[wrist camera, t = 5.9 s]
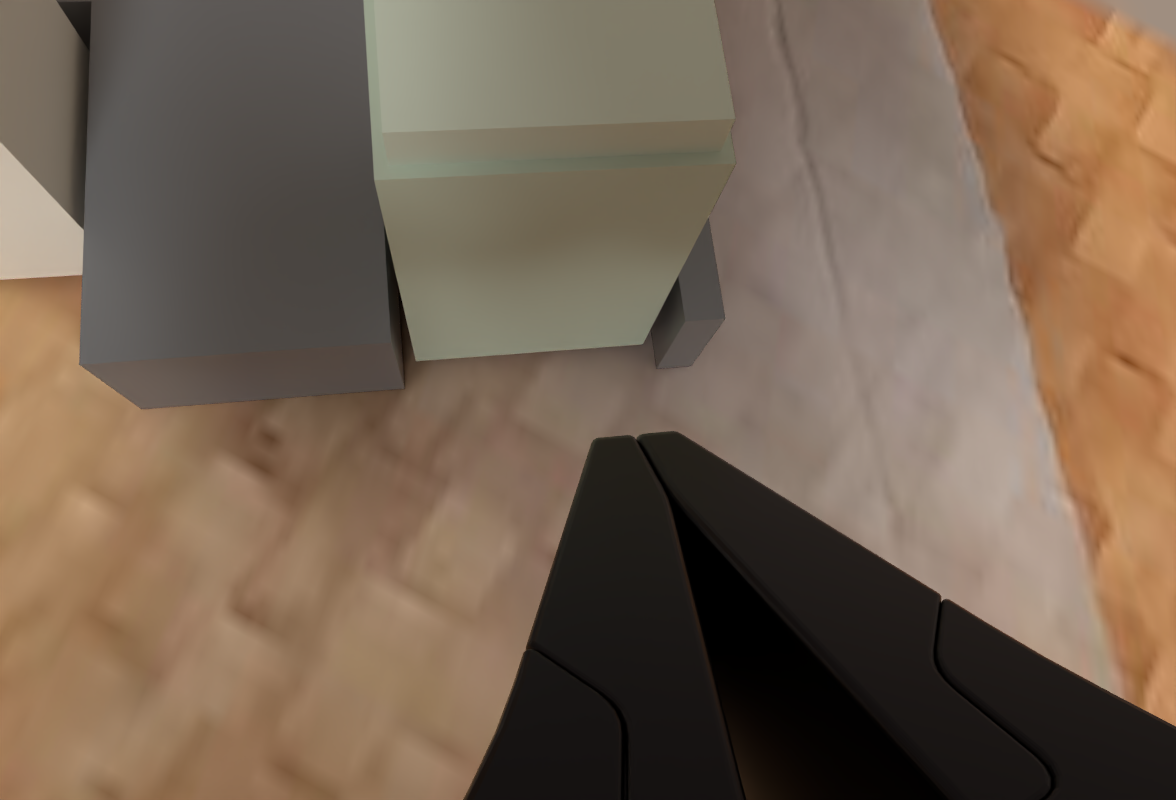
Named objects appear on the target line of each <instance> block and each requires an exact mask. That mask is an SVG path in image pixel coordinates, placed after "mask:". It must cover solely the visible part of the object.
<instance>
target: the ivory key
mask: <svg viewBox="0 0 1176 800" xmlns="http://www.w3.org/2000/svg"><path fill="white" fill-rule="evenodd" d="M89 62H90V51H89V50H88V48H87V47H86V45H85V44H84V42H83V41H82V39H81V38H80V36H79V35H78V33H77V32H76V30H75V28H74V27H73V25H72V24H71V22H70V21H69V19H68V18H67V16H66V15H65V13H64V12H63V10H62V9H61V7H60V5H59V4H58V2H57V1H56V0H0V280H4V279H21V278H38V277H55V276H72V275H82V271H83V241H84V211H85V182H86V152H87V122H88V92H89Z"/></svg>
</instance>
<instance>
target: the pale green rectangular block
mask: <svg viewBox="0 0 1176 800" xmlns="http://www.w3.org/2000/svg"><path fill="white" fill-rule="evenodd" d="M363 2H364V19H365V35H366V52H367V69H368V85H369V102H370V119H371V135H372V152H373V169H374V182H375V186H376V190H377V195H378V199H379V203H380V208H381V212H382V216H383V221H384V225H385V229H386V234H387V238H388V242H389V247H390V251H391V255H392V260H393V264H394V269H395V273H396V277H397V282H398V286H399V290H400V295H401V299H402V303H403V308H404V312H405V316H406V321H407V325H408V329H409V334H410V338H411V342H412V347H413V351H414V355H415V360H416V361H426V360H440V359H453V358H467V357H480V356H494V355H507V354H520V353H534V352H547V351H561V350H574V349H588V348H601V347H614V346H628V345H641V344H643V343H644V341H645V339H646V337H647V335H648V333H649V331H650V329H651V327H652V325H653V323H654V322H655V320H656V318H657V316H658V314H659V312H660V310H661V308H662V306H663V304H664V302H665V300H666V298H667V296H668V294H669V292H670V291H671V289H672V287H673V285H674V283H675V281H676V279H677V277H678V275H679V273H680V271H681V269H682V267H683V265H684V263H685V262H686V260H687V258H688V256H689V254H690V252H691V250H692V248H693V246H694V244H695V242H696V240H697V238H698V236H699V234H700V233H701V231H702V229H703V227H704V225H705V223H706V221H707V219H708V217H709V215H710V213H711V211H712V209H713V207H714V205H715V203H716V202H717V200H718V198H719V196H720V194H721V192H722V190H723V188H724V186H725V184H726V182H727V180H728V178H729V176H730V174H731V173H732V171H733V169H734V167H735V165H736V160H735V154H734V148H733V143H732V137H731V132H730V130H731V128H732V126H733V124H734V121H735V119H736V118H735V113H734V107H733V102H732V96H731V91H730V85H729V80H728V74H727V69H726V63H725V57H724V52H723V46H722V41H721V35H720V30H719V24H718V19H717V13H716V8H715V2H714V0H363Z"/></svg>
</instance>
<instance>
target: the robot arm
mask: <svg viewBox="0 0 1176 800" xmlns="http://www.w3.org/2000/svg"><path fill="white" fill-rule="evenodd" d="M463 800H1176V727H1175V726H1174V725H1172V724H1170V723H1168V722H1166V721H1164V720H1162V719H1160V718H1158V717H1156V716H1154V715H1152V714H1151V713H1149V712H1147V711H1145V710H1143V709H1141V708H1139V707H1137V706H1135V705H1133V704H1131V703H1129V702H1128V701H1126V700H1124V699H1122V698H1120V697H1118V696H1116V695H1114V694H1112V693H1110V692H1109V691H1107V690H1105V689H1103V688H1101V687H1099V686H1097V685H1096V684H1094V683H1092V682H1090V681H1088V680H1086V679H1085V678H1083V677H1081V676H1079V675H1077V674H1075V673H1074V672H1072V671H1070V670H1068V669H1066V668H1064V667H1062V666H1061V665H1059V664H1057V663H1055V662H1053V661H1051V660H1050V659H1048V658H1046V657H1044V656H1042V655H1041V654H1039V653H1037V652H1036V651H1034V650H1032V649H1030V648H1029V647H1027V646H1025V645H1024V644H1022V643H1020V642H1019V641H1017V640H1015V639H1014V638H1012V637H1010V636H1008V635H1007V634H1005V633H1003V632H1002V631H1000V630H998V629H997V628H995V627H993V626H992V625H990V624H988V623H986V622H985V621H983V620H982V619H980V618H978V617H977V616H975V615H973V614H972V613H970V612H969V611H967V610H965V609H964V608H962V607H961V606H959V605H957V604H956V603H954V602H952V601H951V600H949V599H944V600H943V601H942V602H941V595H940V594H939V593H937V592H936V591H934V590H933V589H931V588H929V587H928V586H926V585H925V584H923V583H921V582H920V581H918V580H916V579H915V578H913V577H912V576H910V575H908V574H907V573H905V572H904V571H902V570H900V569H899V568H897V567H895V566H894V565H892V564H891V563H889V562H887V561H886V560H884V559H883V558H881V557H879V556H878V555H876V554H874V553H873V552H871V551H870V550H868V549H866V548H865V547H863V546H862V545H860V544H858V543H857V542H855V541H853V540H852V539H850V538H849V537H847V536H845V535H844V534H842V533H841V532H839V531H837V530H836V529H834V528H832V527H831V526H829V525H828V524H826V523H824V522H823V521H821V520H820V519H818V518H816V517H815V516H813V515H812V514H810V513H808V512H807V511H805V510H803V509H802V508H800V507H799V506H797V505H795V504H794V503H792V502H791V501H789V500H787V499H786V498H784V497H782V496H781V495H779V494H778V493H776V492H774V491H773V490H771V489H770V488H768V487H766V486H765V485H763V484H761V483H760V482H758V481H757V480H755V479H753V478H752V477H750V476H749V475H747V474H745V473H744V472H742V471H740V470H739V469H737V468H736V467H734V466H732V465H731V464H729V463H728V462H726V461H724V460H723V459H721V458H719V457H718V456H716V455H715V454H713V453H711V452H710V451H708V450H707V449H705V448H703V447H702V446H700V445H699V444H697V443H695V442H694V441H692V440H690V439H689V438H687V437H686V436H684V435H682V434H680V433H678V432H674V431H670V432H659V433H648V434H642V435H639V436H638V437H637V439H635V438H634V437H632V436H629V435H626V436H614V437H603V438H596V439H595V440H593V442H592V443H591V446H590V449H589V452H588V456H587V459H586V462H585V465H584V468H583V471H582V474H581V477H580V480H579V484H578V487H577V490H576V493H575V496H574V499H573V502H572V505H571V508H570V512H569V515H568V518H567V521H566V524H565V527H564V530H563V533H562V536H561V540H560V543H559V546H558V549H557V552H556V555H555V558H554V561H553V564H552V568H551V571H550V574H549V577H548V580H547V583H546V586H545V589H544V592H543V596H542V599H541V602H540V605H539V608H538V611H537V614H536V617H535V620H534V624H533V627H532V630H531V633H530V636H529V639H528V642H527V646H526V651H525V652H524V653H523V656H522V659H521V662H520V665H519V668H518V671H517V675H516V678H515V681H514V684H513V686H512V689H511V692H510V695H509V697H508V700H507V703H506V705H505V708H504V711H503V713H502V716H501V719H500V721H499V724H498V727H497V729H496V732H495V734H494V736H493V738H492V740H491V743H490V745H489V747H488V749H487V751H486V753H485V755H484V758H483V760H482V762H481V764H480V766H479V768H478V770H477V773H476V775H475V777H474V779H473V781H472V783H471V786H470V788H469V789H468V791H467V793H466V795H465V797H464V799H463Z"/></svg>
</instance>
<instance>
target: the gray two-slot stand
mask: <svg viewBox="0 0 1176 800" xmlns="http://www.w3.org/2000/svg"><path fill="white" fill-rule="evenodd" d="M56 1H57V2H58V4H59V5H60V7H61V9H62V10H63V12H64V13H65V15H66V16H67V18H68V19H69V21H70V22H71V24H72V25H73V27H74V28H75V30H76V32H77V33H78V35H79V36H80V38H81V39H82V41H83V42H84V44H85V45H86V47H87V48H88V50H89V51H90V62H89V92H88V122H87V152H86V182H85V211H84V241H83V271H82V301H81V330H80V360H79V365H80V366H82V367H83V368H85V369H86V370H87V371H89V372H90V373H92V374H93V375H94V376H96V377H97V378H99V379H100V380H101V381H103V382H104V383H106V384H107V385H108V386H110V387H111V388H113V389H114V390H115V391H117V392H118V393H120V394H121V395H122V396H124V397H125V398H127V399H128V400H129V401H131V402H132V403H134V404H135V405H136V406H138V407H139V408H141V409H151V408H163V407H176V406H189V405H201V404H214V403H227V402H240V401H252V400H265V399H278V398H291V397H303V396H316V395H329V394H342V393H354V392H367V391H380V390H393V389H405V387H404V372H403V356H402V341H401V326H400V310H399V295H398V282H397V277H396V273H395V269H394V264H393V260H392V255H391V251H390V247H389V242H388V238H387V234H386V229H385V225H384V221H383V216H382V212H381V208H380V203H379V199H378V195H377V190H376V186H375V182H374V169H373V152H372V135H371V119H370V102H369V85H368V69H367V52H366V35H365V19H364V2H363V0H56ZM724 320H725V314H724V308H723V302H722V296H721V290H720V284H719V278H718V272H717V266H716V260H715V254H714V248H713V241H712V235H711V229H710V223H709V217H708V219H707V221H706V223H705V225H704V227H703V229H702V231H701V233H700V234H699V236H698V238H697V240H696V242H695V244H694V246H693V248H692V250H691V252H690V254H689V256H688V258H687V260H686V262H685V263H684V265H683V267H682V269H681V271H680V273H679V275H678V277H677V279H676V281H675V283H674V285H673V287H672V289H671V291H670V292H669V294H668V296H667V298H666V300H665V302H664V304H663V306H662V308H661V310H660V312H659V314H658V316H657V318H656V320H655V322H654V323H653V325H652V327H651V333H652V340H653V347H654V354H655V361H656V368H657V369H660V368H673V367H685V366H691V365H692V364H693V363H694V361H695V360H696V358H697V357H698V356H699V354H700V353H701V352H702V350H703V349H704V347H705V346H706V345H707V343H708V342H709V341H710V339H711V338H712V336H713V335H714V334H715V332H716V331H717V329H718V328H719V327H720V325H721V324H722V323H723V321H724Z"/></svg>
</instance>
